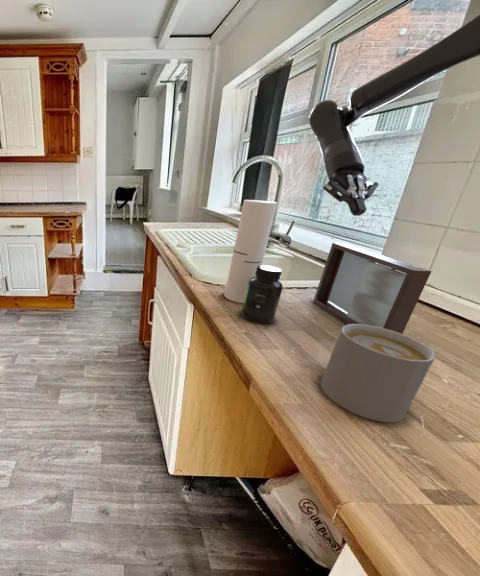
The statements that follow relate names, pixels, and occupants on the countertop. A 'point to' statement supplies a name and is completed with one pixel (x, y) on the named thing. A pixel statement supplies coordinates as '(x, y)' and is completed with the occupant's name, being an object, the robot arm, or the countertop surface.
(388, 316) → the window frame
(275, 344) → the countertop surface
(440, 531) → the countertop surface
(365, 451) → the countertop surface
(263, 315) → the supplement bottle
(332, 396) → the coffee mug
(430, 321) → the countertop surface
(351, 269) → the window pane
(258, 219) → the cylindrical container
